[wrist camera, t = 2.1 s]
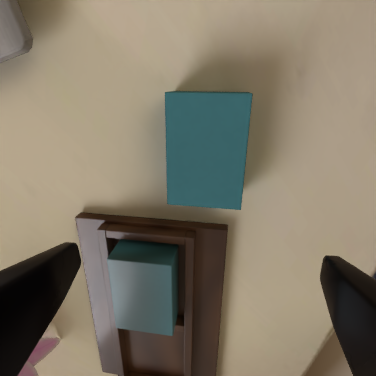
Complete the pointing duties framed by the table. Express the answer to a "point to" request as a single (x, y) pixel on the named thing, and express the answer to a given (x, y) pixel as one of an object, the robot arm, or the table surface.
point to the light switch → (13, 31)
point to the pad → (206, 147)
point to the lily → (38, 355)
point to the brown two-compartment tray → (154, 293)
